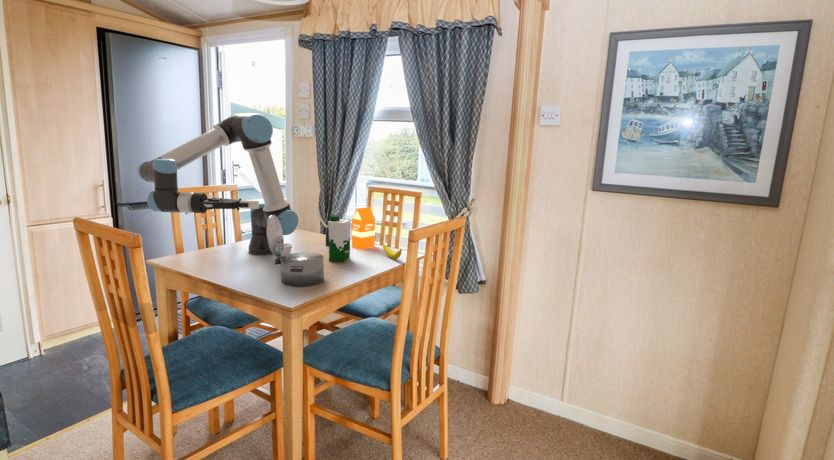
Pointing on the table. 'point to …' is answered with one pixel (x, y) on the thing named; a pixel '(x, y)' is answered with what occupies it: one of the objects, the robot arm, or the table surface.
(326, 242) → the supplement bottle
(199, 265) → the table surface
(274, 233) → the lid
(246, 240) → the table surface
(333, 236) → the milk carton
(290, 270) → the cooker
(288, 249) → the smoothie
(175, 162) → the robot arm
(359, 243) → the orange juice
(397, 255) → the banana
